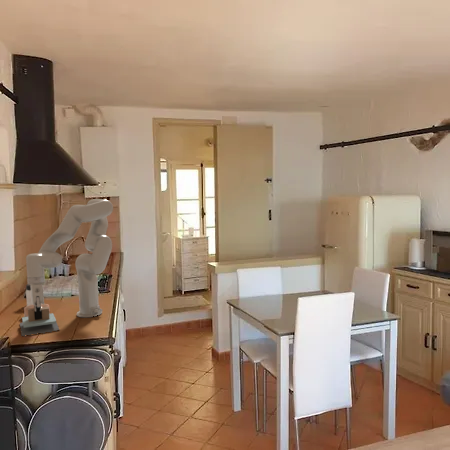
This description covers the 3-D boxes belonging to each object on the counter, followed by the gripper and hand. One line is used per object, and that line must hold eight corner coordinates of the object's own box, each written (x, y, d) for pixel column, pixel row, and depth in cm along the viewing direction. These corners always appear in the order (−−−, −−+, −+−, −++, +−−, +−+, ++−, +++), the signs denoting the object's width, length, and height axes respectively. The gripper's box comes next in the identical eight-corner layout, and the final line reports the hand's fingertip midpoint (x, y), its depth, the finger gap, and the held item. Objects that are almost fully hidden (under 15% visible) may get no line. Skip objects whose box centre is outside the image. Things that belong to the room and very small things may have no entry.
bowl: (54, 315, 234) (54, 305, 234) (33, 321, 224) (32, 311, 224) (40, 311, 241) (40, 302, 240) (19, 317, 231) (19, 307, 231)
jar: (23, 306, 251) (22, 285, 249) (34, 302, 258) (33, 281, 257) (36, 307, 247) (34, 286, 246) (47, 303, 255) (45, 283, 254)
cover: (56, 323, 211) (55, 310, 210) (23, 327, 205) (22, 314, 204) (53, 315, 224) (52, 303, 223) (22, 319, 217) (21, 307, 217)
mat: (59, 330, 209) (59, 329, 209) (21, 336, 202) (21, 335, 202) (54, 319, 227) (54, 317, 227) (19, 324, 220) (19, 323, 220)
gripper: (46, 282, 206) (48, 321, 208) (43, 275, 221) (45, 312, 223) (28, 284, 203) (30, 324, 205) (26, 277, 218) (28, 314, 220)
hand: (38, 317), depth 214 cm, fingers closed on cover, 4 cm apart
